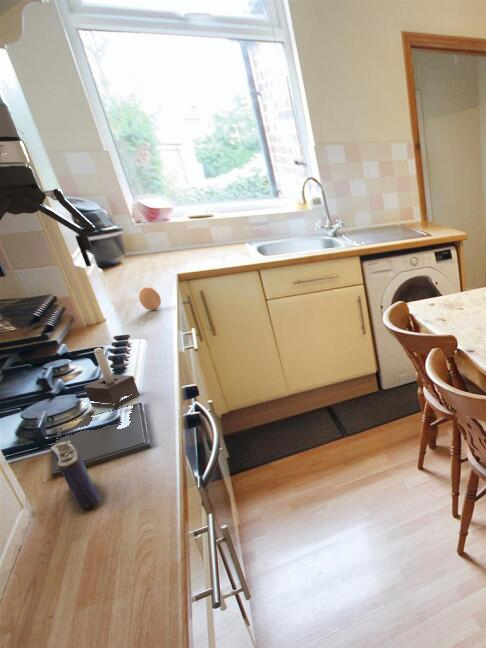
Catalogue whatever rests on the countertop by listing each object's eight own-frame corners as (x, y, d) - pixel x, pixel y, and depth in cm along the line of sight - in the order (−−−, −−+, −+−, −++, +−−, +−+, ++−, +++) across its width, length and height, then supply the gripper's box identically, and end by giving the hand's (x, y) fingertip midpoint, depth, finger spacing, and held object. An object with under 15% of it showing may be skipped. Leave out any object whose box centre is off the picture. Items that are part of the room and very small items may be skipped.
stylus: (110, 400, 106) (91, 349, 98) (116, 396, 107) (97, 345, 100) (117, 401, 106) (97, 351, 98) (122, 397, 107) (103, 347, 100)
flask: (69, 489, 79) (43, 436, 75) (91, 480, 81) (67, 428, 77) (81, 514, 73) (54, 459, 69) (104, 504, 75) (80, 450, 71)
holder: (91, 406, 103) (83, 386, 101) (117, 392, 109) (109, 374, 107) (115, 408, 103) (107, 388, 101) (139, 394, 108) (132, 375, 106)
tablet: (60, 428, 96) (57, 424, 95) (143, 405, 104) (142, 401, 103) (53, 478, 81) (50, 473, 81) (151, 447, 89) (149, 442, 89)
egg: (147, 308, 165) (139, 285, 161) (165, 306, 166) (158, 284, 163) (140, 313, 160) (132, 290, 156) (160, 311, 161) (152, 288, 158)
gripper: (-98, 168, 82) (-41, 284, 91) (86, 163, 97) (121, 264, 105) (-86, 167, 87) (-33, 276, 96) (87, 162, 102) (120, 258, 110)
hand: (47, 270), depth 100 cm, fingers open, 13 cm apart
